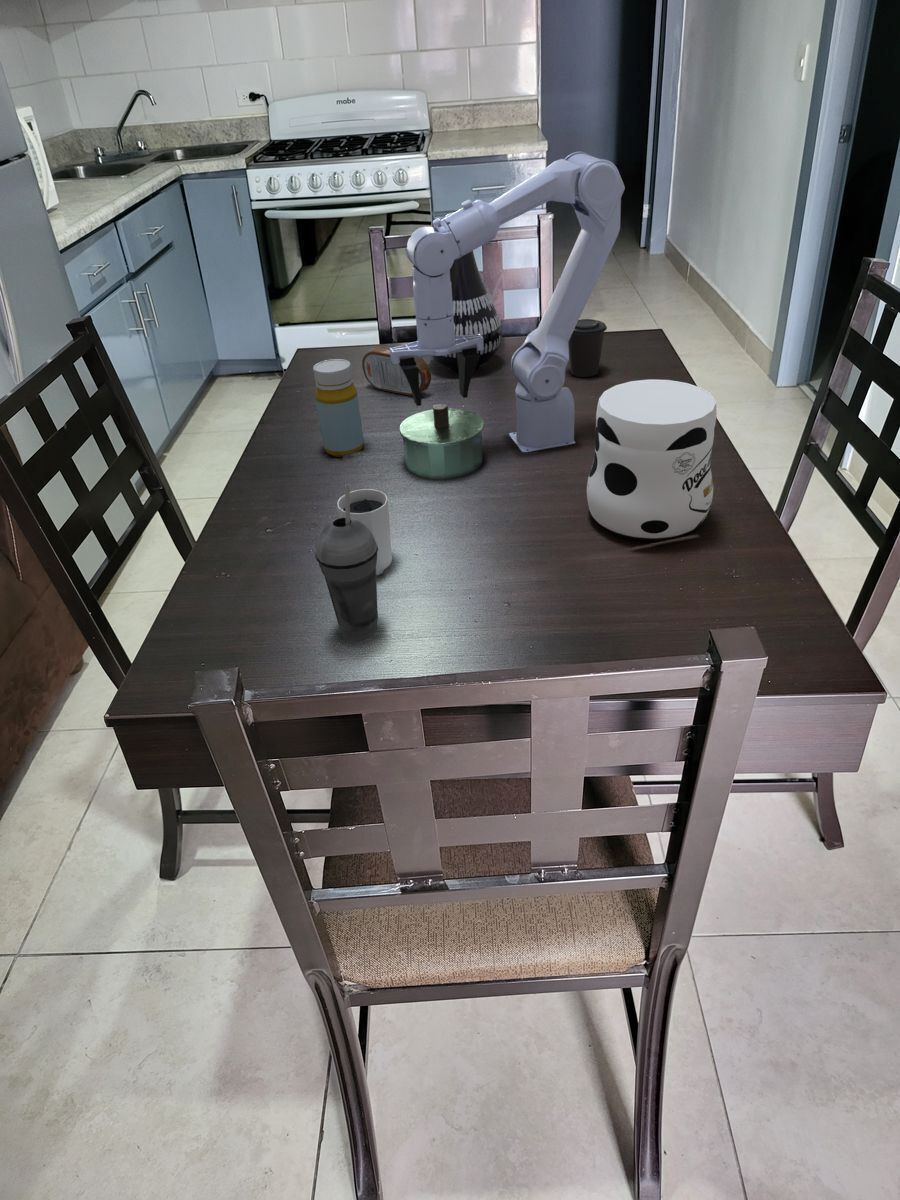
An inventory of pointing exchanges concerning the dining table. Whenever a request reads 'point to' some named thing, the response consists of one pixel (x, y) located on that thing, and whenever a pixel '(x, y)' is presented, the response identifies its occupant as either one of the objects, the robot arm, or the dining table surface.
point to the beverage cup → (350, 573)
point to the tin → (392, 372)
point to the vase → (472, 310)
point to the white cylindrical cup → (372, 520)
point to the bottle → (338, 407)
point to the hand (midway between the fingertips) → (440, 399)
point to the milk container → (652, 459)
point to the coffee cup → (586, 347)
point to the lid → (441, 426)
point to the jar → (444, 458)
